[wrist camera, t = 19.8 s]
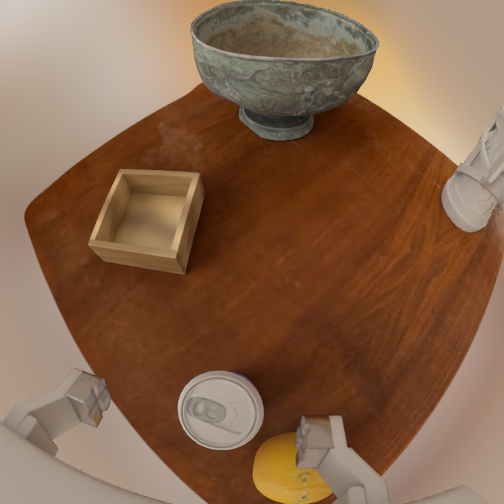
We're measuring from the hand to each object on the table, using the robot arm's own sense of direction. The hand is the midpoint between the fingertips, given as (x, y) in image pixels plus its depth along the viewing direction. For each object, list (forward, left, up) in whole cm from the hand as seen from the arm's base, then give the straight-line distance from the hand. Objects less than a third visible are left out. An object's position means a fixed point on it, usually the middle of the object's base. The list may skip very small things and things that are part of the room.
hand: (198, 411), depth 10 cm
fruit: (-1, -11, -20) cm, 23 cm away
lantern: (+44, -11, -20) cm, 49 cm away
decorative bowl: (+35, +24, -20) cm, 47 cm away
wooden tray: (+7, +21, -20) cm, 30 cm away
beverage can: (0, -1, -20) cm, 20 cm away
